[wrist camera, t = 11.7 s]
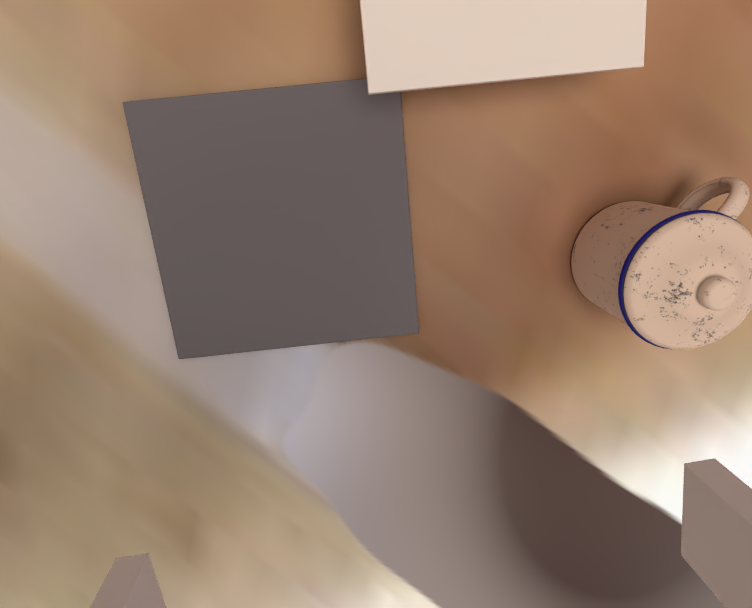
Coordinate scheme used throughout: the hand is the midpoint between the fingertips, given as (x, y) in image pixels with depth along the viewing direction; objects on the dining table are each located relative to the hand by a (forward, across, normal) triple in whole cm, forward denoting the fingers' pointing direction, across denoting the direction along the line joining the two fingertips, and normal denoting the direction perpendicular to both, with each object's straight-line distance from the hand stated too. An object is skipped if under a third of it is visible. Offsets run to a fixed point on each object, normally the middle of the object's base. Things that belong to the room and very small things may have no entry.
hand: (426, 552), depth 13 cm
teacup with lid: (+29, +21, 0) cm, 36 cm away
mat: (+30, -5, +5) cm, 30 cm away
